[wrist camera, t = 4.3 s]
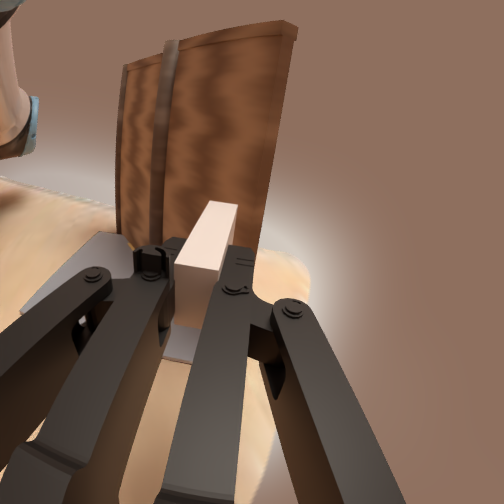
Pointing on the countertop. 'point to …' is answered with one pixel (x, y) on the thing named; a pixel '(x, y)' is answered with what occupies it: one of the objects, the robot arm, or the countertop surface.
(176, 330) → the card
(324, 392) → the robot arm
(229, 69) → the brown wooden board
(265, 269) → the countertop surface
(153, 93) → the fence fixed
